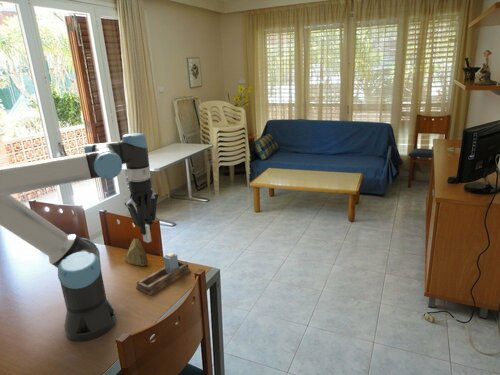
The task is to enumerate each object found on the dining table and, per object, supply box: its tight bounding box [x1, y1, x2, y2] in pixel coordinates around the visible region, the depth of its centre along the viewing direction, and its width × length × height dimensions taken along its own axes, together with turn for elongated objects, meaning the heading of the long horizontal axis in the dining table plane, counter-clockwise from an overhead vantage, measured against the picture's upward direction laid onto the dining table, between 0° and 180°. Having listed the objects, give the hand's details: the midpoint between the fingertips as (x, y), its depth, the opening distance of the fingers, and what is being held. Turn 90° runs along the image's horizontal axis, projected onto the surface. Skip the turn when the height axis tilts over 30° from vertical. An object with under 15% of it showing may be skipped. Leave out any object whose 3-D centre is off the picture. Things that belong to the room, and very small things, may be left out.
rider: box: [163, 251, 179, 274], centre depth 143 cm, size 4×3×8 cm
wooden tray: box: [135, 259, 191, 296], centre depth 141 cm, size 20×8×3 cm, turn 143°
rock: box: [124, 237, 148, 267], centre depth 153 cm, size 11×9×10 cm
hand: (147, 241), depth 132 cm, fingers closed
